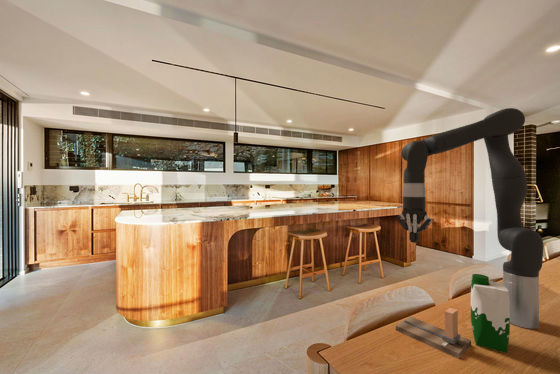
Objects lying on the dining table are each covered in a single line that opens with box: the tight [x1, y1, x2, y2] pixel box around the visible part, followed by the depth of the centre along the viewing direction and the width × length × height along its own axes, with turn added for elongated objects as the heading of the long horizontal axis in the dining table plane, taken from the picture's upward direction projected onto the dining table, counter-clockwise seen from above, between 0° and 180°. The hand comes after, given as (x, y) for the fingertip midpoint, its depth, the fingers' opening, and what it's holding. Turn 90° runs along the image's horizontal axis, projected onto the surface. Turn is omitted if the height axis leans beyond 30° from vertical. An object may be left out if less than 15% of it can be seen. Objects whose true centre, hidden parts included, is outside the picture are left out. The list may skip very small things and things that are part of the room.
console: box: [395, 316, 472, 359], centre depth 81 cm, size 18×10×2 cm, turn 37°
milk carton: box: [470, 273, 511, 354], centre depth 78 cm, size 9×9×20 cm
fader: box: [442, 307, 461, 344], centre depth 76 cm, size 3×5×8 cm, turn 127°
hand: (413, 242), depth 95 cm, fingers closed
